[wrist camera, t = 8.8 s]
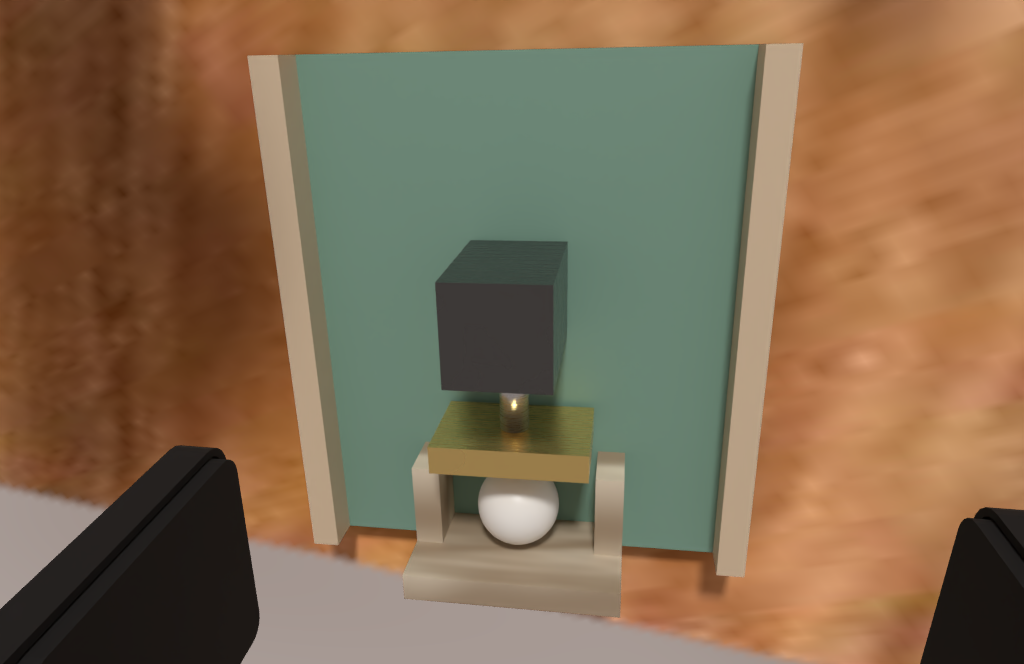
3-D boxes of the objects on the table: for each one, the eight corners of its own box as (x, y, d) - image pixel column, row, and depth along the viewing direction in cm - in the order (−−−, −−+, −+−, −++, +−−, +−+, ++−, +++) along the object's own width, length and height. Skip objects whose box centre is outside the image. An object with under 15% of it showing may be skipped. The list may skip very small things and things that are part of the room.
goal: (425, 441, 35) (395, 499, 30) (624, 452, 33) (623, 515, 29) (431, 531, 36) (404, 598, 32) (621, 545, 35) (620, 617, 31)
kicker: (442, 239, 31) (400, 281, 25) (597, 241, 30) (590, 286, 24) (452, 424, 34) (417, 498, 28) (593, 432, 33) (586, 509, 27)
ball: (469, 551, 31) (484, 530, 35) (553, 558, 31) (560, 535, 34) (472, 466, 31) (487, 453, 35) (556, 471, 31) (563, 458, 34)
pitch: (280, 55, 30) (247, 55, 28) (787, 43, 28) (803, 43, 25) (335, 509, 38) (314, 543, 36) (735, 538, 35) (744, 577, 33)
